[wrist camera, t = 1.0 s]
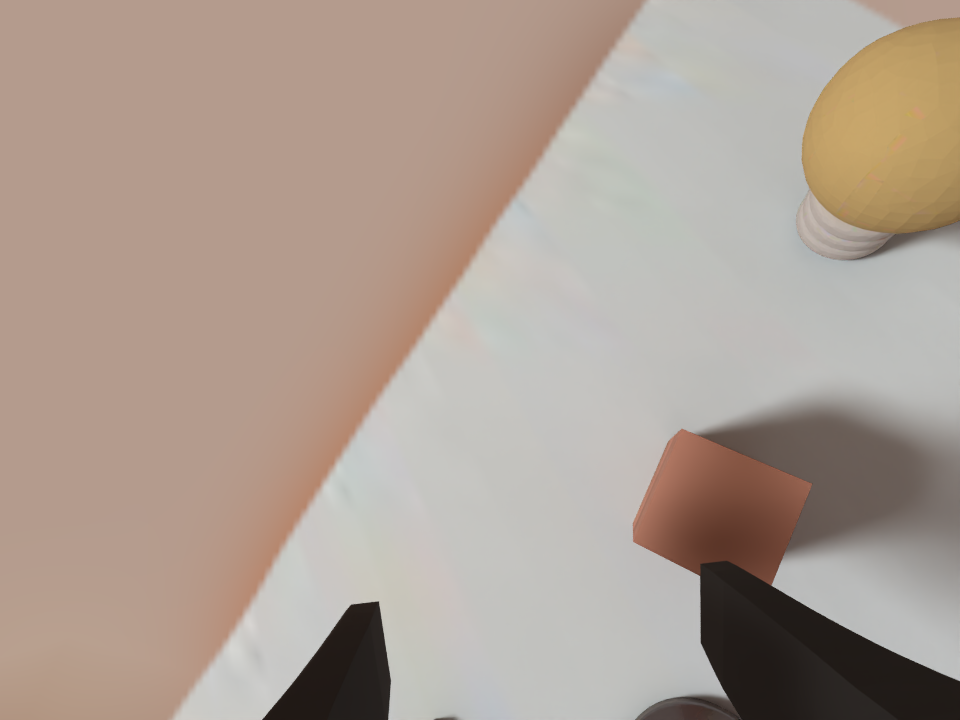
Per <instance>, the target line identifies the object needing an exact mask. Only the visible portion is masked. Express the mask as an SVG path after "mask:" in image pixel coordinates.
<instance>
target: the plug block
mask: <svg viewBox="0 0 960 720" xmlns="http://www.w3.org/2000/svg"><path fill="white" fill-rule="evenodd" d="M811 486H812V484H811V483H809V482H807V481H804V480H802V479H800V478H797V477H795V476H793V475H790V474H788V473H785V472H783V471H781V470H778V469H776V468H774V467H771V466H769V465H766V464H764V463H762V462H759V461H757V460H755V459H752V458H750V457H747V456H745V455H743V454H740V453H738V452H736V451H733V450H731V449H729V448H726V447H724V446H721V445H719V444H717V443H714V442H712V441H710V440H707V439H705V438H702V437H700V436H698V435H695V434H693V433H691V432H688V431H686V430H684V429H681V430H680V431H679V432H678V433H677V434H676V435H675V436H674V437H673V438H671V439H670V440H669V441H668V443H667V446H666V448H665V450H664V452H663V455H662V457H661V459H660V462H659V464H658V466H657V469H656V471H655V473H654V476H653V478H652V480H651V483H650V485H649V487H648V490H647V492H646V494H645V497H644V499H643V501H642V504H641V506H640V508H639V511H638V513H637V515H636V518H635V520H634V522H633V542H635V543H637V544H638V545H640V546H642V547H644V548H646V549H648V550H650V551H652V552H654V553H656V554H658V555H660V556H662V557H664V558H666V559H668V560H670V561H672V562H674V563H676V564H678V565H680V566H682V567H684V568H686V569H688V570H690V571H692V572H693V573H695V574H697V575H699V576H700V564H702V563H710V562H719V561H729V562H731V563H733V564H735V565H737V566H738V567H740V568H742V569H744V570H745V571H747V572H749V573H751V574H752V575H754V576H756V577H757V578H759V579H761V580H762V581H764V582H766V583H768V584H769V585H772V583H773V580H774V578H775V575H776V573H777V570H778V568H779V565H780V563H781V560H782V558H783V555H784V553H785V550H786V548H787V546H788V543H789V541H790V538H791V536H792V533H793V531H794V528H795V526H796V523H797V521H798V518H799V516H800V513H801V511H802V508H803V506H804V504H805V501H806V499H807V496H808V494H809V491H810V489H811Z"/></svg>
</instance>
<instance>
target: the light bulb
mask: <svg viewBox="0 0 960 720" xmlns="http://www.w3.org/2000/svg"><path fill="white" fill-rule="evenodd" d="M802 164H803V168H804V173H805V178H806V181H807V183H808V185H809V188H810V190H809V191H808V193H807V195H806V197H805V198H804V200H803V201H802V203H801V204H800V206H799V208H798V212H797V215H796V225H797V230H798V233H799V236H800V238H801V239H802V241H803V242H804V243H805V244H806V245H807V246H808V247H809V248H810V249H811V250H812V251H814V252H816V253H818V254H819V255H821V256H824V257H827V258H831V259H837V260H850V259H857V258H860V257H864V256H866V255H869V254H871V253H872V252H874V251H876V250H878V249H879V248H880V247H881V246H883V245H884V244H885V243H886V242H887V241H888V239H890V238H891V237H892V236H893V235H895V234H899V233H910V232H918V231H925V230H931V229H936V228H940V227H943V226H946V225H950V224H952V223H955V222H957V221H960V18H949V19H939V20H934V21H928V22H923V23H919V24H916V25H912V26H909V27H905V28H903V29H901V30H898V31H896V32H894V33H891V34H889V35H887V36H884V37H882V38H880V39H878V40H876V41H875V42H873V43H871V44H869V45H868V46H866V47H865V48H863V49H862V50H861V51H860V52H858V53H857V54H856V55H855V56H854V57H852V58H851V59H850V60H849V61H848V62H847V63H846V64H845V65H843V66H842V67H841V68H840V69H839V71H838V72H837V73H836V74H835V75H834V77H833V78H832V79H831V80H830V82H829V83H828V84H827V85H826V86H825V88H824V89H823V91H822V92H821V94H820V96H819V97H818V99H817V101H816V103H815V105H814V107H813V109H812V111H811V113H810V115H809V118H808V121H807V124H806V128H805V131H804V135H803V142H802Z"/></svg>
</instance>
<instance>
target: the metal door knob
mask: <svg viewBox="0 0 960 720" xmlns="http://www.w3.org/2000/svg"><path fill="white" fill-rule="evenodd" d="M635 720H740V719H739V718H738V717H737V716H735V715H734V714H732V713H731V712H729V711H728V710H726V709H724V708H722V707H720V706H718V705H716V704H713V703H710V702H708V701H704V700H700V699H695V698H673V699H668V700H664V701H661V702H658V703H656V704H654V705H653V706H651V707H649V708H648V709H646V710H645V711H644V712H642V713H641V714H640V715H639V716H638V717H637V718H636V719H635Z"/></svg>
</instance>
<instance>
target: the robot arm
mask: <svg viewBox="0 0 960 720" xmlns="http://www.w3.org/2000/svg"><path fill="white" fill-rule="evenodd" d="M700 595H701V644H702V646H703V648H704V651H705V653H706V655H707V657H708V659H709V661H710V663H711V666H712V668H713V670H714V672H715V674H716V676H717V678H718V680H719V682H720V684H721V686H722V688H723V690H724V691H725V693H726V695H727V696H728V698H729V699H730V701H731V703H732V704H733V706H734V707H735V709H736V711H737V712H738V714H739V715H740V717H741V719H742V720H960V681H958V680H955V679H953V678H951V677H948V676H946V675H943V674H941V673H939V672H936V671H934V670H932V669H930V668H927V667H925V666H923V665H921V664H919V663H916V662H914V661H912V660H910V659H907V658H905V657H903V656H901V655H898V654H896V653H894V652H892V651H890V650H888V649H886V648H884V647H882V646H880V645H878V644H876V643H874V642H872V641H870V640H868V639H866V638H864V637H862V636H860V635H858V634H856V633H854V632H852V631H851V630H849V629H847V628H845V627H843V626H841V625H839V624H837V623H835V622H834V621H832V620H830V619H828V618H826V617H825V616H823V615H821V614H819V613H817V612H816V611H814V610H812V609H810V608H809V607H807V606H805V605H803V604H802V603H800V602H798V601H796V600H795V599H793V598H791V597H790V596H788V595H786V594H784V593H783V592H781V591H779V590H778V589H776V588H774V587H773V586H771V585H769V584H768V583H766V582H764V581H762V580H761V579H759V578H757V577H756V576H754V575H752V574H751V573H749V572H747V571H745V570H744V569H742V568H740V567H738V566H737V565H735V564H733V563H731V562H729V561H719V562H710V563H702V564H700ZM390 685H391V679H390V672H389V666H388V659H387V652H386V646H385V639H384V633H383V626H382V620H381V613H380V606H379V602H370V603H362V604H353V605H350V607H349V608H348V609H347V610H346V612H345V613H344V614H343V616H342V617H341V619H340V620H339V621H338V623H337V624H336V626H335V627H334V629H333V630H332V631H331V633H330V634H329V636H328V637H327V638H326V640H325V641H324V643H323V644H322V645H321V647H320V648H319V649H318V651H317V652H316V654H315V655H314V656H313V657H312V659H311V660H310V661H309V663H308V664H307V665H306V667H305V668H304V669H303V671H302V672H301V673H300V675H299V676H298V677H297V678H296V680H295V681H294V682H293V683H292V685H291V686H290V687H289V688H288V690H287V691H286V692H285V693H284V694H283V696H282V697H281V698H280V699H279V700H278V702H277V703H276V704H275V705H274V706H273V707H272V709H271V710H270V711H269V712H268V713H267V715H266V716H265V717H264V718H263V719H262V720H388V714H389V700H390Z"/></svg>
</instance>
